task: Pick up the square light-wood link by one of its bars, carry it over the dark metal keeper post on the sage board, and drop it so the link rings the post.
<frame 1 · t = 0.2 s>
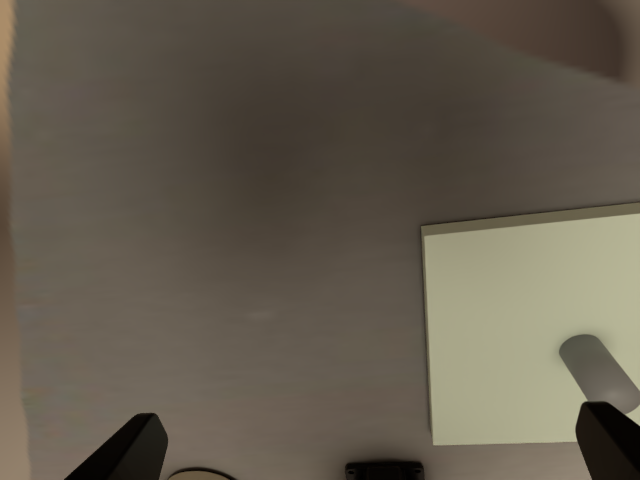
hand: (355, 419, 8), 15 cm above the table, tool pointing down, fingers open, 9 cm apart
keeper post: (570, 335, 25), on the table
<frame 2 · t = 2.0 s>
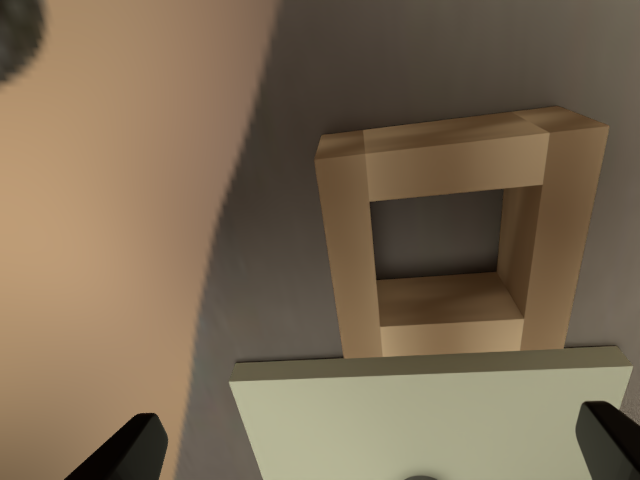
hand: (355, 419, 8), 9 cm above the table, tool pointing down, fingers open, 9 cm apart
wooden link: (435, 223, 15), on the table
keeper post: (417, 466, 23), on the table
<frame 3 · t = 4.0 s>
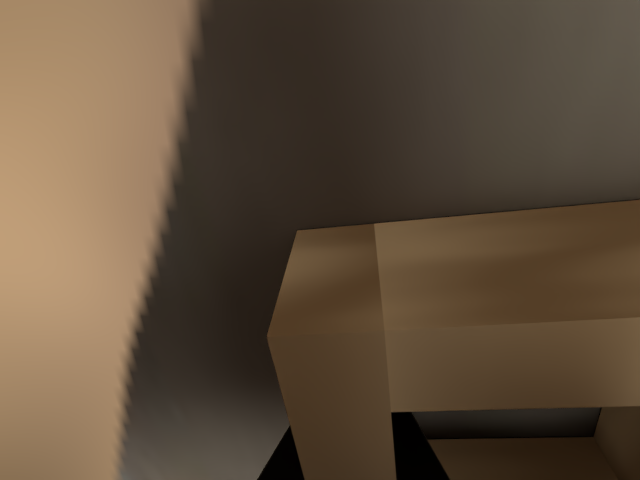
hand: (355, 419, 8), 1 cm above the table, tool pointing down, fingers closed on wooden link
wooden link: (496, 369, 9), on the table, touching gripper
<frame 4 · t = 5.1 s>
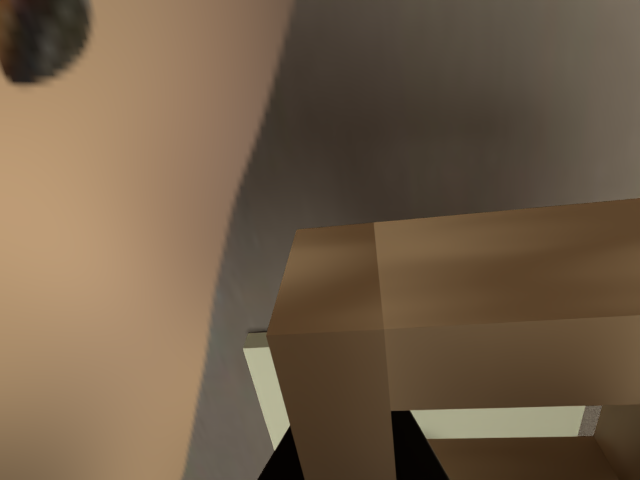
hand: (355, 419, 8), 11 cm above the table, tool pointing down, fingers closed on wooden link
wooden link: (496, 368, 9), point 10 cm above the table, touching gripper
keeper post: (414, 432, 25), on the table
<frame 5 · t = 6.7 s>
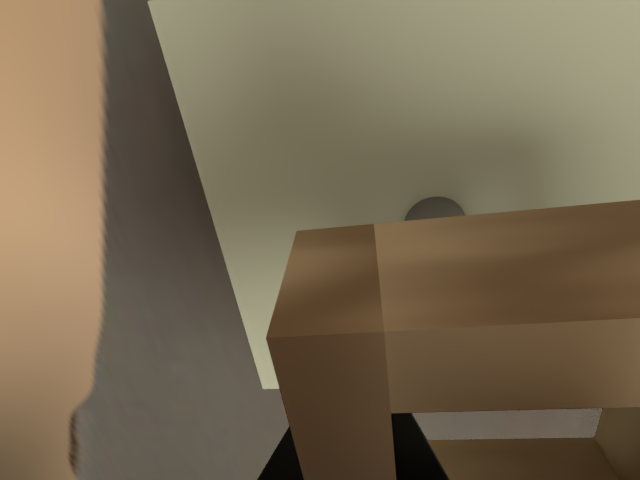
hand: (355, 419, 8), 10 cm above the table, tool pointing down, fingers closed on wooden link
wooden link: (496, 369, 9), point 9 cm above the table, touching gripper
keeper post: (429, 212, 17), on the table
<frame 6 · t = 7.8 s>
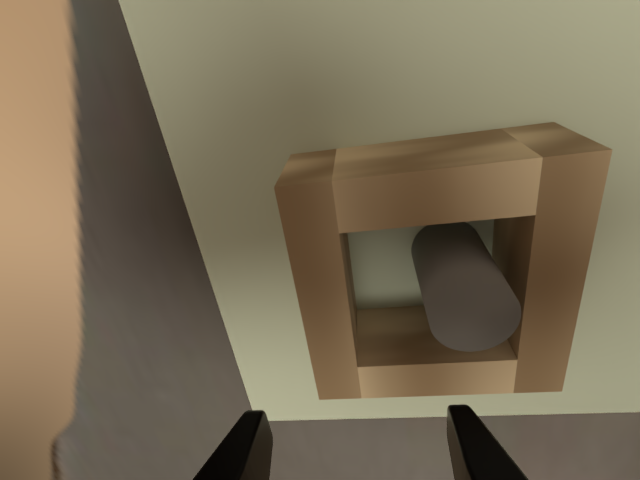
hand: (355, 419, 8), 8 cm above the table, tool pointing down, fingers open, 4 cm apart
wooden link: (419, 249, 14), point 1 cm above the table, touching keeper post
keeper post: (439, 233, 15), on the table
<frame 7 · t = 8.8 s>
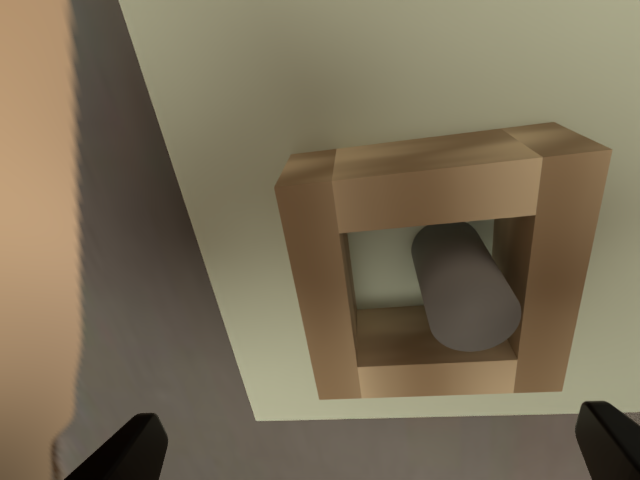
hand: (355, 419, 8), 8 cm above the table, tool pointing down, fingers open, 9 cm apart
wooden link: (419, 249, 14), point 1 cm above the table, touching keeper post
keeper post: (439, 233, 15), on the table
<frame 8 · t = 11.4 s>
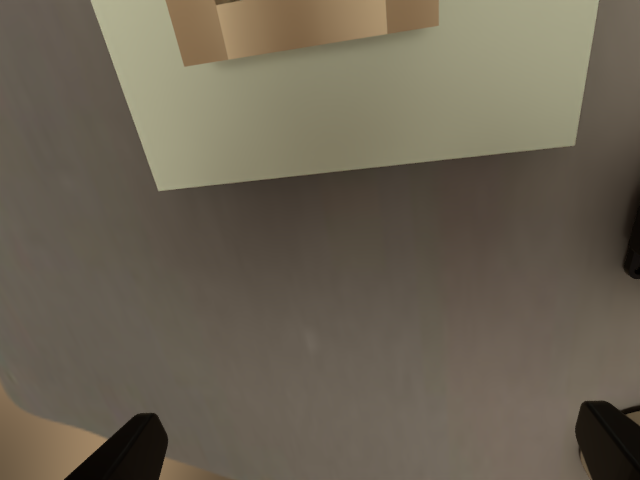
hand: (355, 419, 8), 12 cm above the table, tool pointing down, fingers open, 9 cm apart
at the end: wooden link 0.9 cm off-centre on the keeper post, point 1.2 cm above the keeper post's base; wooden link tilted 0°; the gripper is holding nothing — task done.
